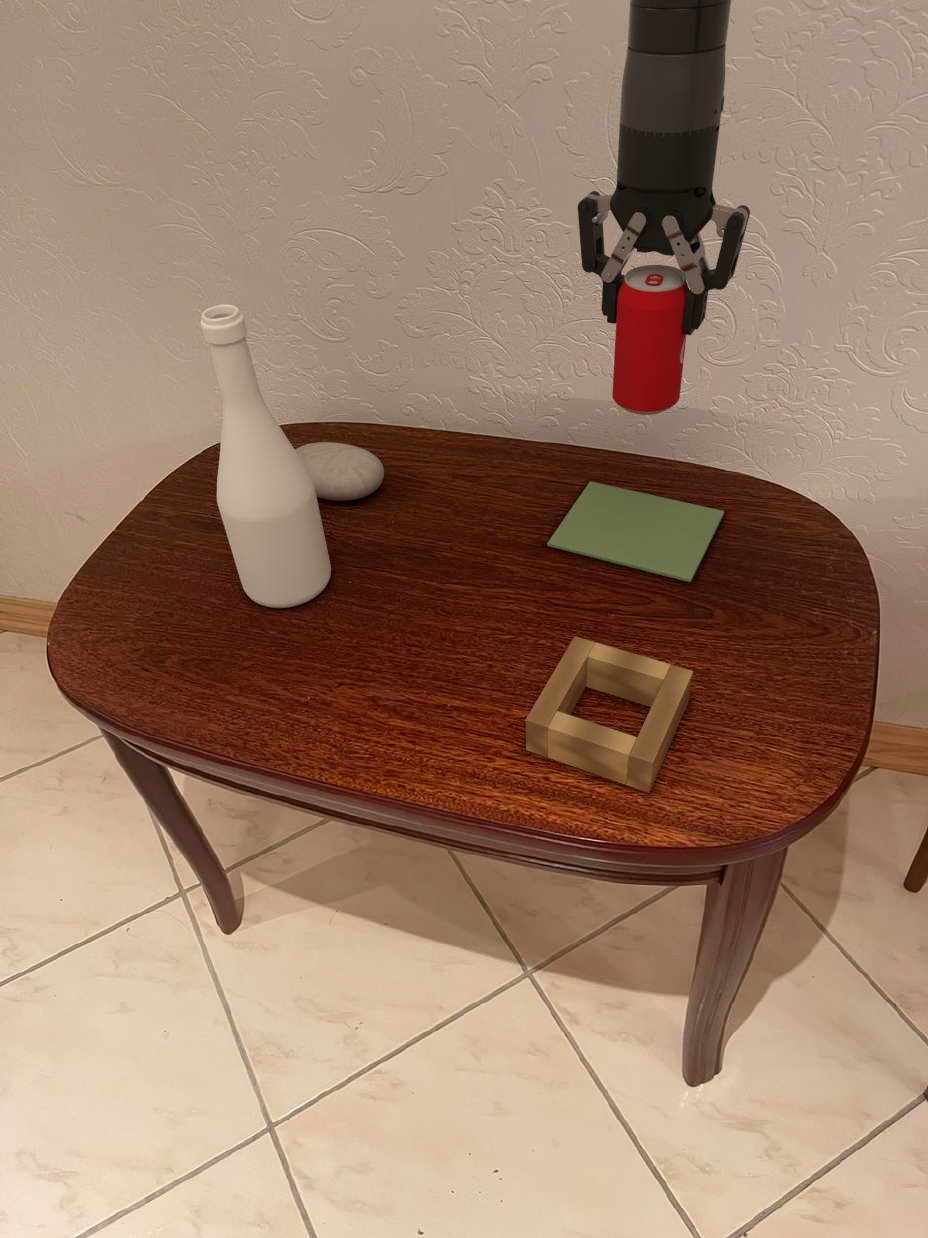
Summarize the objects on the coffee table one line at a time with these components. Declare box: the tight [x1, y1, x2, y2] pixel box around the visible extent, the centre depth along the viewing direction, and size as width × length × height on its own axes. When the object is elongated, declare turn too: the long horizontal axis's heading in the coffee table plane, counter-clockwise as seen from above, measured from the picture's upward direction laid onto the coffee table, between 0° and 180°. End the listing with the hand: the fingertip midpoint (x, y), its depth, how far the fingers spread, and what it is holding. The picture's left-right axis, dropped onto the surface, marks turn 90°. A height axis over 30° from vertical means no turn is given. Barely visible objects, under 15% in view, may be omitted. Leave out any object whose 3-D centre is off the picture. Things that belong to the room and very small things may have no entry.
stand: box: [525, 635, 694, 794], centre depth 76 cm, size 11×11×4 cm
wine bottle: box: [200, 304, 332, 609], centre depth 85 cm, size 10×10×30 cm
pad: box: [546, 480, 725, 583], centre depth 98 cm, size 16×13×1 cm
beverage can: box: [611, 264, 690, 416], centre depth 80 cm, size 6×6×12 cm
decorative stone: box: [294, 441, 385, 502], centre depth 106 cm, size 13×9×5 cm
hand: (651, 324), depth 79 cm, fingers closed on beverage can, 6 cm apart
